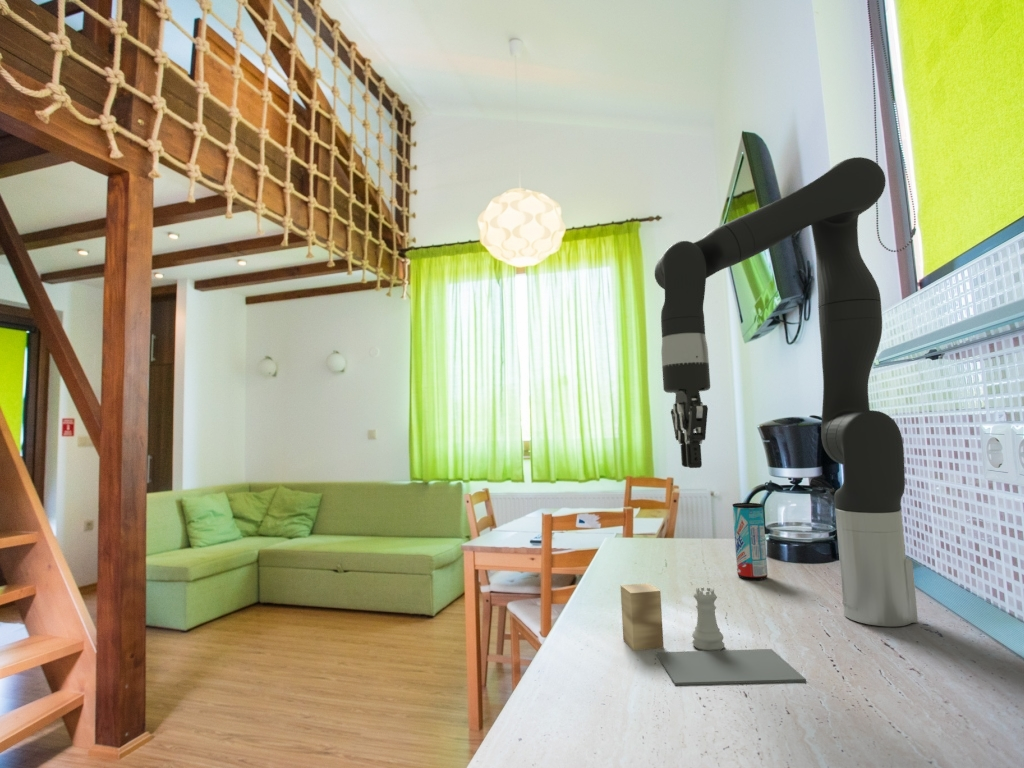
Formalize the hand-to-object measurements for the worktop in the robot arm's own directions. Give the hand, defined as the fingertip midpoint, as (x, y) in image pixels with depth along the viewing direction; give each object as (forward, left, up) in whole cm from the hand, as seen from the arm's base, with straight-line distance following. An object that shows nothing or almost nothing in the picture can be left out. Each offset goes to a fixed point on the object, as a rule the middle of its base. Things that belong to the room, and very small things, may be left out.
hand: (691, 466), depth 96 cm
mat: (+2, +18, -25) cm, 31 cm away
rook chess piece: (+2, +10, -25) cm, 27 cm away
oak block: (+11, +8, -25) cm, 29 cm away
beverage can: (-19, -28, -25) cm, 42 cm away
